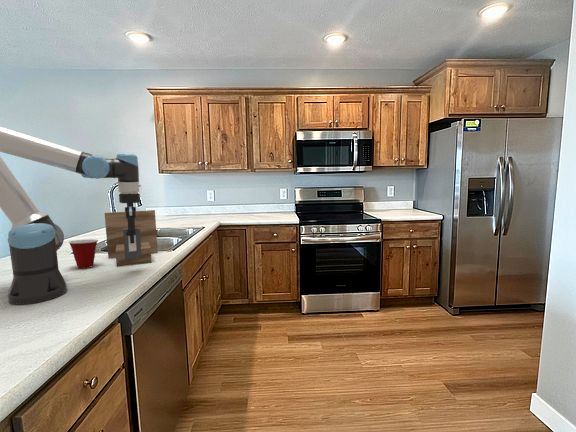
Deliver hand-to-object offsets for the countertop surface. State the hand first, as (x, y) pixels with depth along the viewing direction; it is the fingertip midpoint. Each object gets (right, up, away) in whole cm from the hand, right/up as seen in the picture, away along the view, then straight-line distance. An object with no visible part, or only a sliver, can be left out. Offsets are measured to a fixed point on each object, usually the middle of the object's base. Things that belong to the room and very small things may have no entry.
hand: (132, 249), depth 127 cm
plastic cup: (-25, -8, +9) cm, 28 cm away
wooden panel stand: (-9, -7, +20) cm, 23 cm away
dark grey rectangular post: (0, -3, 0) cm, 3 cm away
